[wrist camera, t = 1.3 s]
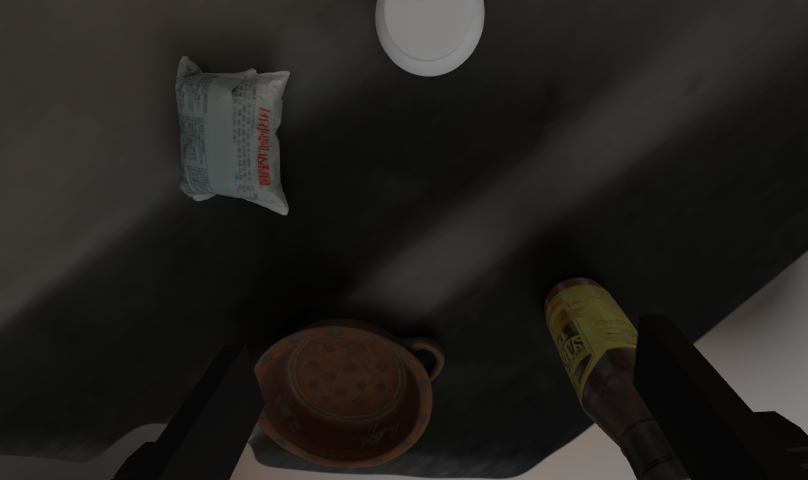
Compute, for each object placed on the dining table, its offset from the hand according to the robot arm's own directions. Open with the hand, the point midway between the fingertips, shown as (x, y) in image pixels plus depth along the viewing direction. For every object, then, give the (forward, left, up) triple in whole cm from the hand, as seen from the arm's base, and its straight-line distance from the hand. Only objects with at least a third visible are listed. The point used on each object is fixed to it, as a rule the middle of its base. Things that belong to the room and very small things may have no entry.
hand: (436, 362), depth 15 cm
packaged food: (-15, -7, -25) cm, 30 cm away
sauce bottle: (+18, -1, -25) cm, 31 cm away
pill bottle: (-8, +9, -25) cm, 28 cm away
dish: (+6, -22, -25) cm, 34 cm away
